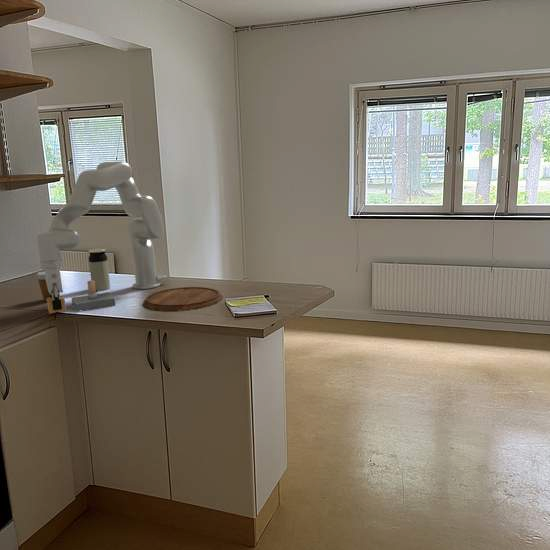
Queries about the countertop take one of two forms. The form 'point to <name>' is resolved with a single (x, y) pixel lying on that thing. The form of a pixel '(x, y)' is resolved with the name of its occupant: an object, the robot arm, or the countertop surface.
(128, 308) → the countertop surface
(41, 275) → the disposable coffee cup
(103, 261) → the travel mug
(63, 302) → the tan cardboard carton
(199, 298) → the cutting board
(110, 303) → the block
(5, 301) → the countertop surface
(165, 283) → the countertop surface
